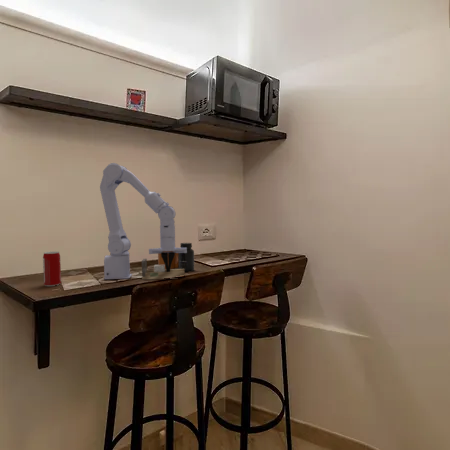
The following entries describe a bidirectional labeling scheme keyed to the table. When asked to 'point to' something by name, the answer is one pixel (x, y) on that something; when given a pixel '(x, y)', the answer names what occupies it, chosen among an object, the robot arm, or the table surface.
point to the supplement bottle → (186, 258)
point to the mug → (173, 265)
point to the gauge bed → (159, 275)
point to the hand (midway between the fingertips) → (168, 271)
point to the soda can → (51, 268)
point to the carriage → (159, 268)
